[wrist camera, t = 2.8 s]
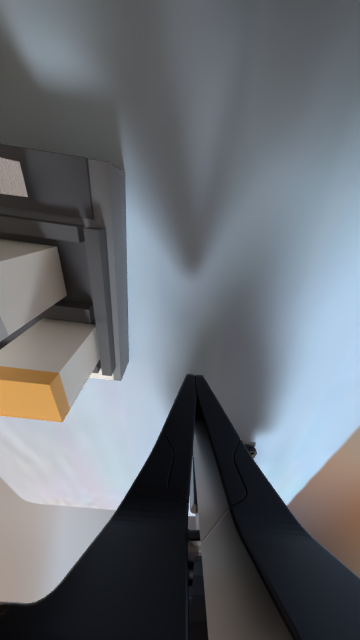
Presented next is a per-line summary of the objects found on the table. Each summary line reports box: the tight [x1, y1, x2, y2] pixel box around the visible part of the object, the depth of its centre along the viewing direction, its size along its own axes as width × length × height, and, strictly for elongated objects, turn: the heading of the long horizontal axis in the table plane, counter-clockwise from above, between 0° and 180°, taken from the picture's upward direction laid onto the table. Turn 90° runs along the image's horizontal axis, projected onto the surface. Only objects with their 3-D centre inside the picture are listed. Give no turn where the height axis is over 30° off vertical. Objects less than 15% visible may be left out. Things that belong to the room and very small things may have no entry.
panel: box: [0, 144, 129, 381], centre depth 10 cm, size 12×12×3 cm
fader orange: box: [0, 318, 100, 422], centre depth 9 cm, size 3×2×4 cm
